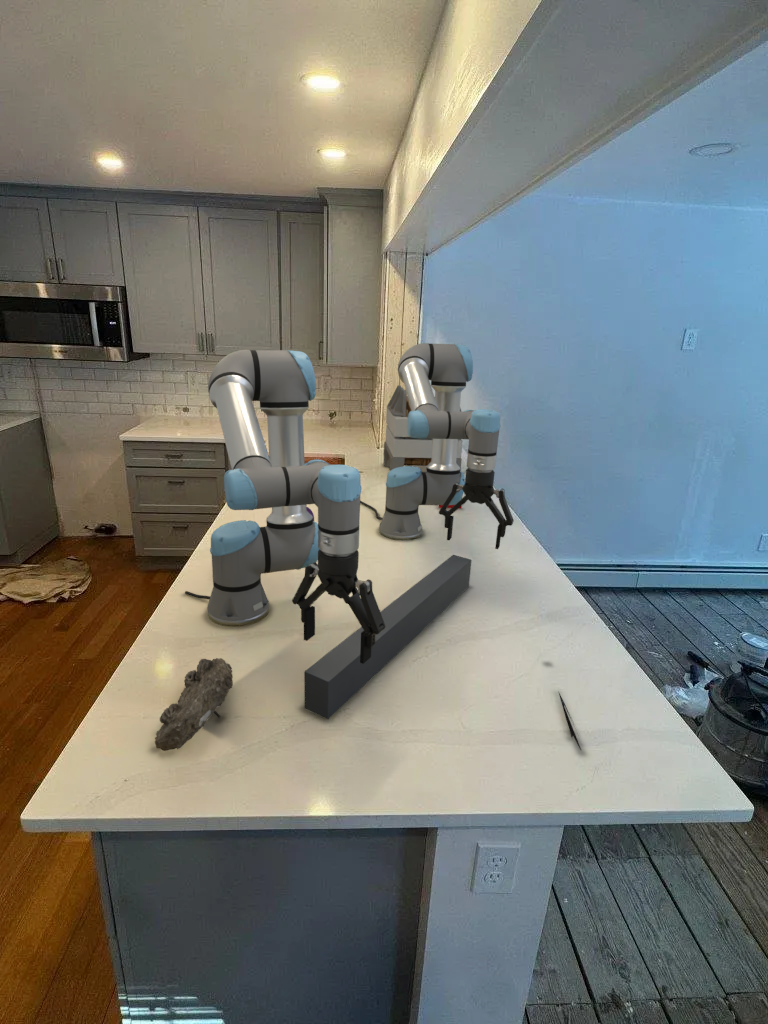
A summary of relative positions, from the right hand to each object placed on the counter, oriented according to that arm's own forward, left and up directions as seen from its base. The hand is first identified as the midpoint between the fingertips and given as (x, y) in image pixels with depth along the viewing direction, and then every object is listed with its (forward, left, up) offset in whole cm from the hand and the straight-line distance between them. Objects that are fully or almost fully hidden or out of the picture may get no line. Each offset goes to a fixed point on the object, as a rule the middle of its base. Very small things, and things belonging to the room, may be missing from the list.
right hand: (473, 543), depth 158 cm
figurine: (-66, -14, -14) cm, 68 cm away
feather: (+45, -23, -14) cm, 53 cm away
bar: (+7, -32, -14) cm, 36 cm away
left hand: (+15, -58, -3) cm, 60 cm away
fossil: (+4, -82, -14) cm, 83 cm away
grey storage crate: (-95, +73, -14) cm, 121 cm away
